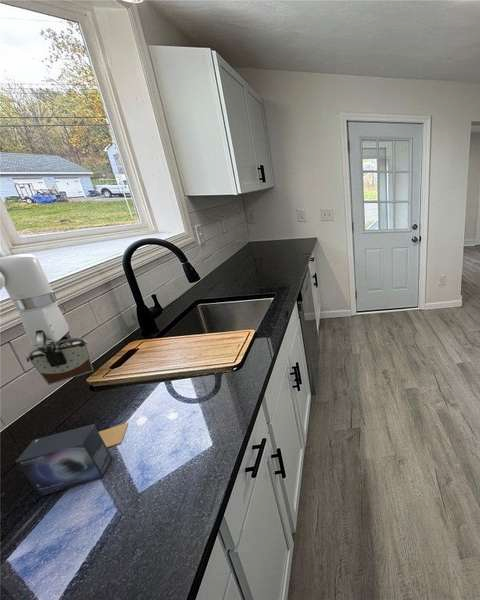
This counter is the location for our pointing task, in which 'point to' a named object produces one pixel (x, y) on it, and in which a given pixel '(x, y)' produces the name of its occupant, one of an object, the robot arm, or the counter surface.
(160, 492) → the counter surface
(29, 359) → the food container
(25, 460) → the small box
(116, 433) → the cork pad
